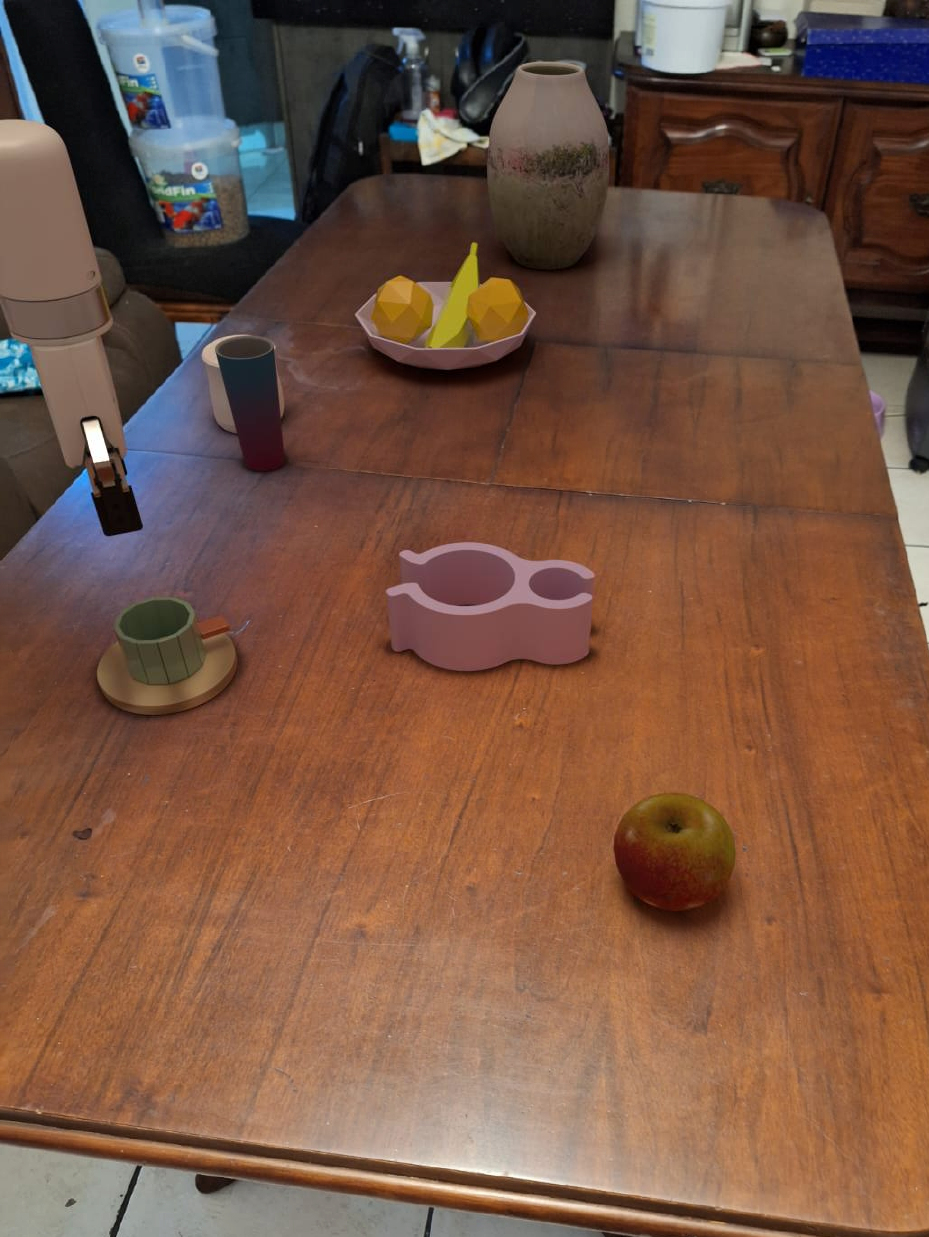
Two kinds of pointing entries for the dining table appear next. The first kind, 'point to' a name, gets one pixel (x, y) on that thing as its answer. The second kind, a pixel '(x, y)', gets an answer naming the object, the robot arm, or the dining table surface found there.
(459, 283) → the fruit bowl
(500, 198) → the vase
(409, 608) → the clip
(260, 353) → the cup
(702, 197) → the dining table surface
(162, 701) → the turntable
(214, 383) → the cup
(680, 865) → the fruit
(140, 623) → the green mug
